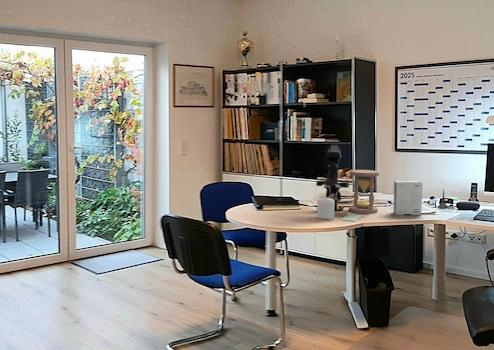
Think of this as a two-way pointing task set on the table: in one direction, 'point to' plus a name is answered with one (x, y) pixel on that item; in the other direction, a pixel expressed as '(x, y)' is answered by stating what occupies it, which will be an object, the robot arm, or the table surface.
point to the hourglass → (364, 183)
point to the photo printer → (325, 208)
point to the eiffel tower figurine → (444, 203)
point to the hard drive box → (407, 197)
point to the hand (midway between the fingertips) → (332, 198)
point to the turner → (332, 197)
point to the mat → (351, 217)
